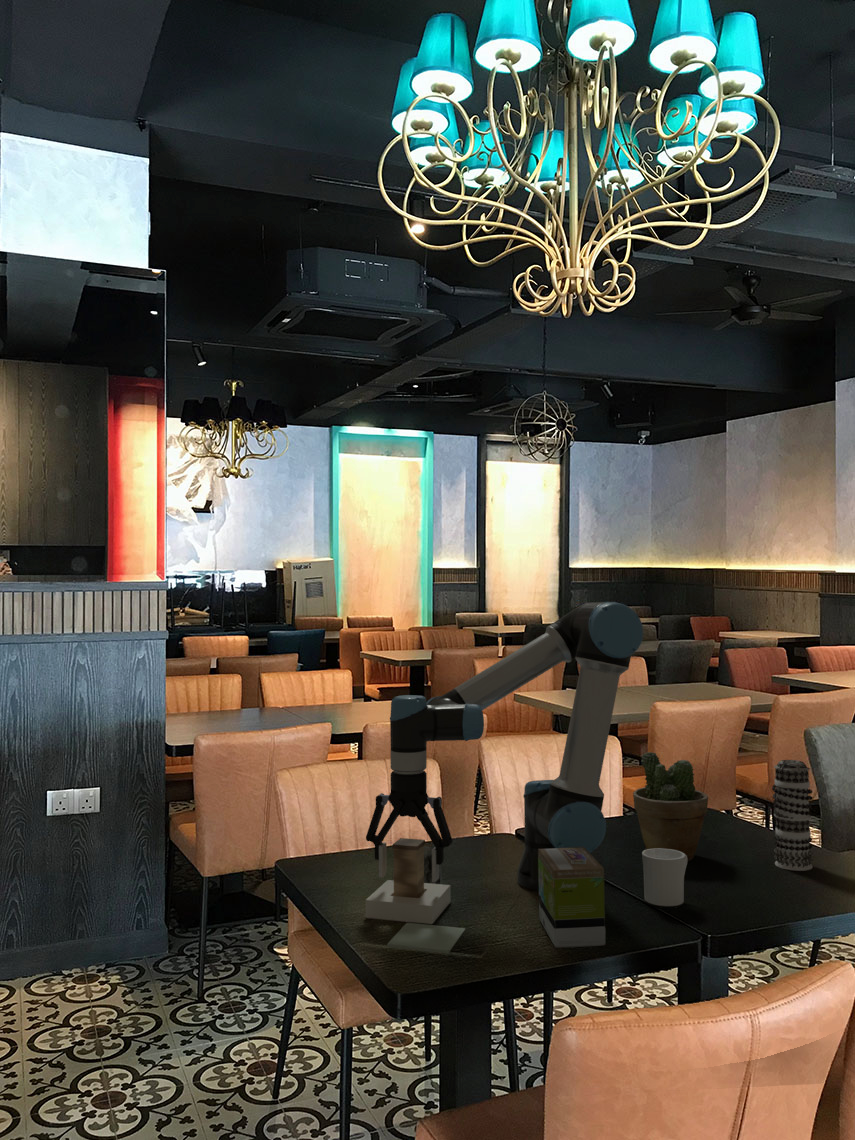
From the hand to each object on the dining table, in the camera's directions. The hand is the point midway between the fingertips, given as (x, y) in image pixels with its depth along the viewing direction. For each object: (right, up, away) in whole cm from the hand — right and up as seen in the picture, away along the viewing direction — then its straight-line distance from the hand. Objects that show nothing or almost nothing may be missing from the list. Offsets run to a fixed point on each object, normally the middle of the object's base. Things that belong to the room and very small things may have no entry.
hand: (408, 877), depth 194 cm
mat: (+4, -6, -16) cm, 18 cm away
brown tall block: (0, -6, 0) cm, 6 cm away
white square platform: (0, -7, 0) cm, 7 cm away
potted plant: (+65, -8, +41) cm, 77 cm away
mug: (+55, -7, +5) cm, 56 cm away
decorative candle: (+92, -8, +32) cm, 98 cm away
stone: (+4, -8, +17) cm, 19 cm away
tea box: (+32, -7, -13) cm, 35 cm away
